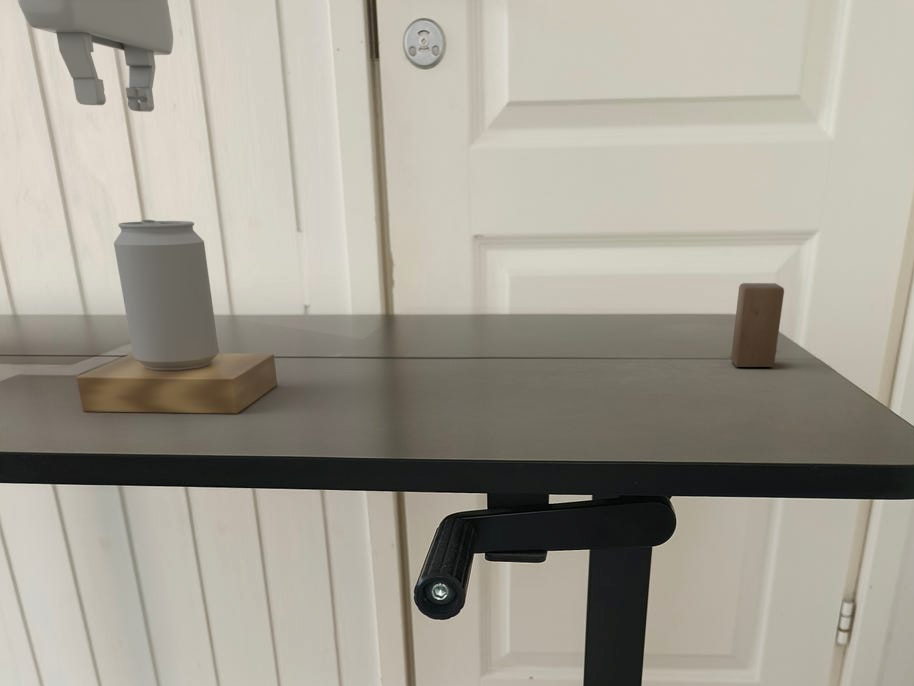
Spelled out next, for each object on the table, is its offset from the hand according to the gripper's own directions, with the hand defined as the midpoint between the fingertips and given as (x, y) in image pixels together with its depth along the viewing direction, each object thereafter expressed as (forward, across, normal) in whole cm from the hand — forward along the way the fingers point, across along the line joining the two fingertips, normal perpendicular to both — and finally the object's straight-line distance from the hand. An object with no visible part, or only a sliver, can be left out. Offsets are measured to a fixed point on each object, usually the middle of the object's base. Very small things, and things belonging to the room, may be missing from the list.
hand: (118, 108), depth 77 cm
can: (+21, +3, +3) cm, 21 cm away
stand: (+23, +3, +4) cm, 24 cm away
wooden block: (+23, -16, +58) cm, 65 cm away
